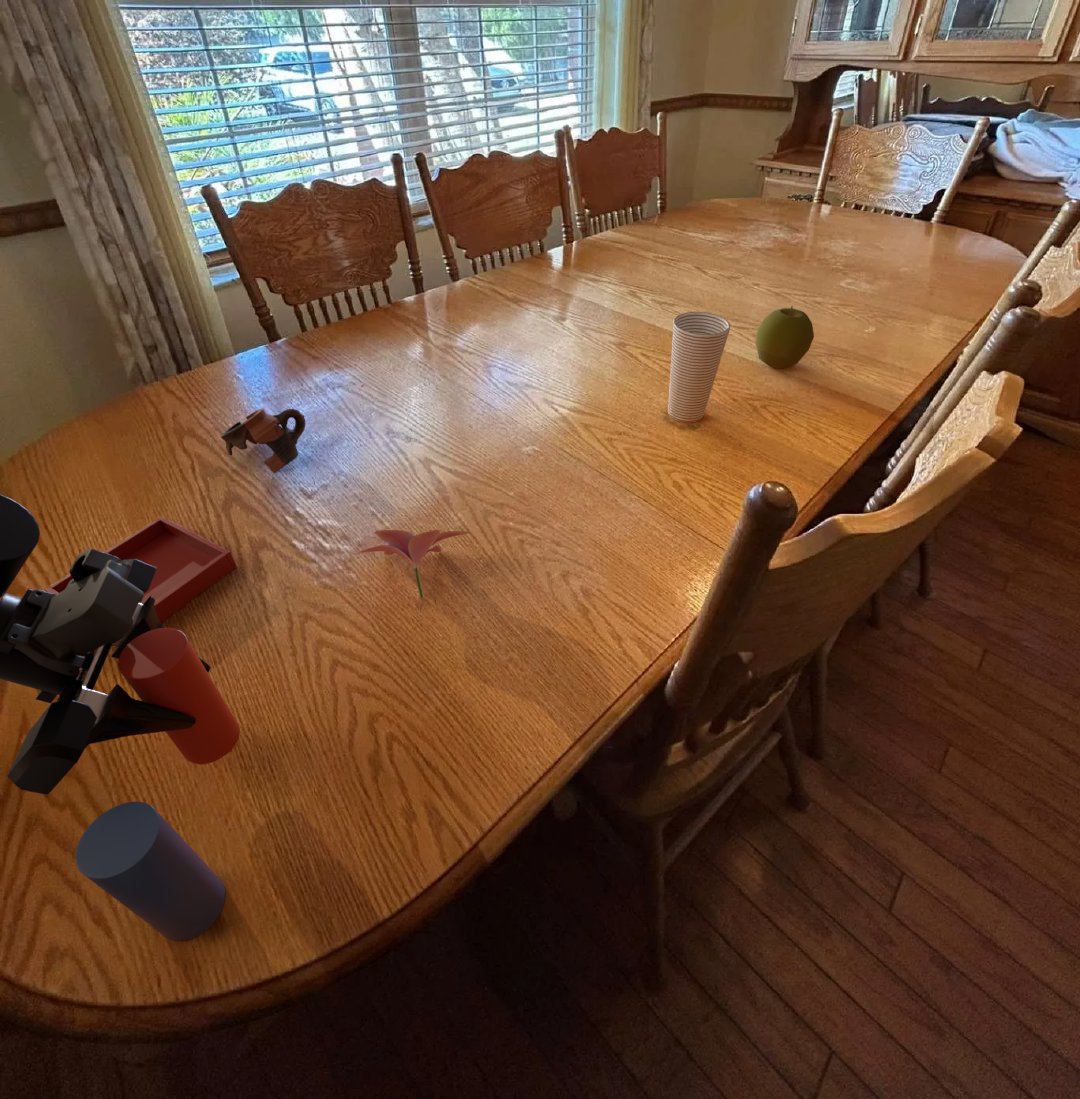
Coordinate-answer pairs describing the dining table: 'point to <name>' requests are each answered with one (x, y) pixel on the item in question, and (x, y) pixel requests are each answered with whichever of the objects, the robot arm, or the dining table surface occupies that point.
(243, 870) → the dining table surface
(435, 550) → the lily
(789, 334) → the apple
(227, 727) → the red pin
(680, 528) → the dining table surface
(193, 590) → the red tray
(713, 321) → the cup
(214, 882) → the blue pin
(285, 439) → the brown irregular piece
